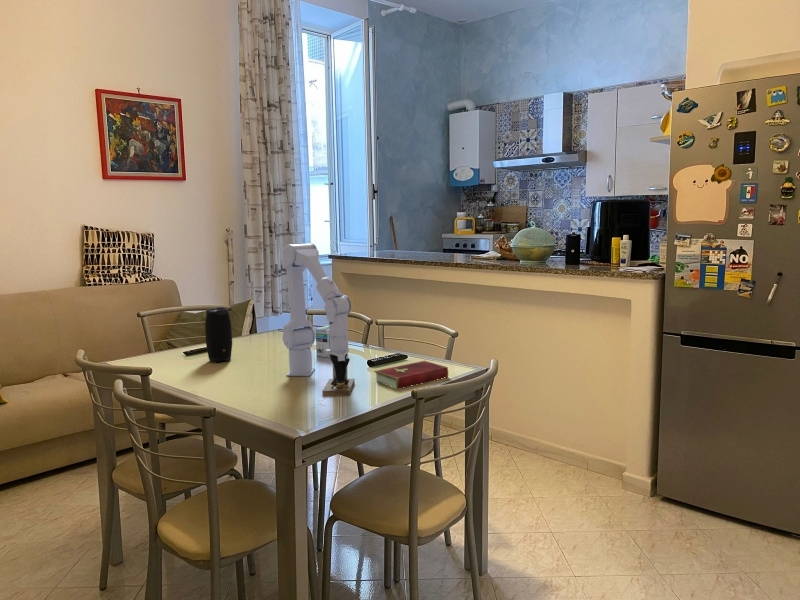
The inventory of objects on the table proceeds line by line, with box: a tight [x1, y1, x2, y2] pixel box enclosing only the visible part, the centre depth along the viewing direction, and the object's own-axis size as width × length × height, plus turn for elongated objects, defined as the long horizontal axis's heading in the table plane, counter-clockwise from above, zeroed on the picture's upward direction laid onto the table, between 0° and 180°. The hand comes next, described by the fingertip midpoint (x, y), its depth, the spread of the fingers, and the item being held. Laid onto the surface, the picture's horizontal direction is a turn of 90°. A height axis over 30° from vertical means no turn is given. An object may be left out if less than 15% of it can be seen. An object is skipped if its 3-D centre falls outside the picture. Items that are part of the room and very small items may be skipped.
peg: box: [332, 364, 348, 389], centre depth 188 cm, size 4×4×7 cm
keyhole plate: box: [321, 378, 356, 397], centre depth 186 cm, size 13×8×2 cm, turn 177°
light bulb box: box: [315, 324, 331, 359], centre depth 232 cm, size 11×7×11 cm, turn 148°
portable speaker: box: [204, 306, 233, 363], centre depth 224 cm, size 9×9×20 cm
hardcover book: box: [374, 360, 449, 390], centre depth 196 cm, size 12×21×4 cm, turn 127°
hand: (339, 378), depth 188 cm, fingers closed on peg, 4 cm apart
